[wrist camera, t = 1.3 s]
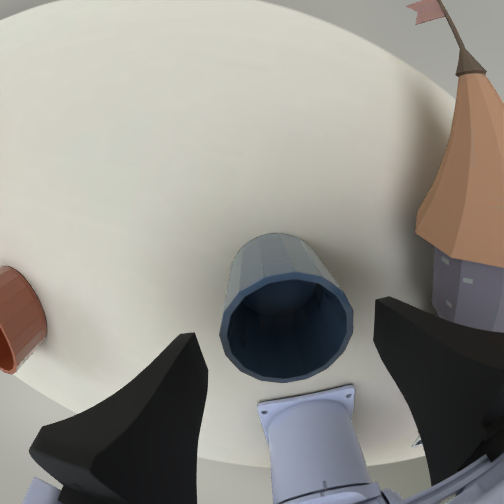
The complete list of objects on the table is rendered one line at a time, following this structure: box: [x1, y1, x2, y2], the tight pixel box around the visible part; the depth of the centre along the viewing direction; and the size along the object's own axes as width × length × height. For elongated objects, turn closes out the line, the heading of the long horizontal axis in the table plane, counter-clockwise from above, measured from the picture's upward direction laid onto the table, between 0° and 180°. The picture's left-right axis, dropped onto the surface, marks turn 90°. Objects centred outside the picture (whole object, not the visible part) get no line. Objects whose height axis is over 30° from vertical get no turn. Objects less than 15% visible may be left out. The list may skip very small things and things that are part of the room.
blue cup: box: [219, 233, 353, 383], centre depth 13 cm, size 5×5×6 cm
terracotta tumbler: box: [0, 266, 47, 374], centre depth 15 cm, size 8×8×5 cm
